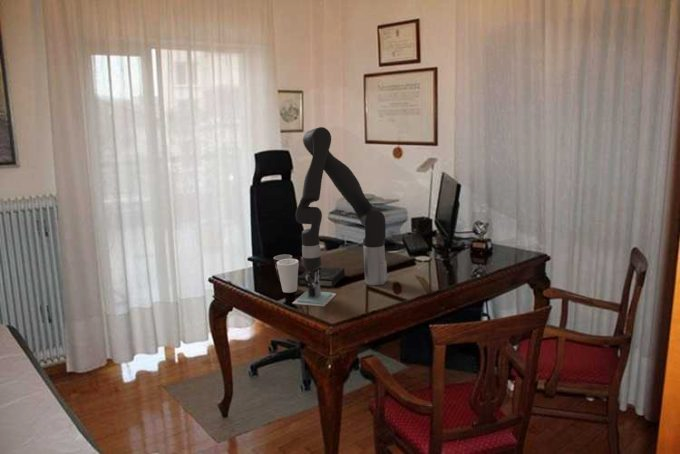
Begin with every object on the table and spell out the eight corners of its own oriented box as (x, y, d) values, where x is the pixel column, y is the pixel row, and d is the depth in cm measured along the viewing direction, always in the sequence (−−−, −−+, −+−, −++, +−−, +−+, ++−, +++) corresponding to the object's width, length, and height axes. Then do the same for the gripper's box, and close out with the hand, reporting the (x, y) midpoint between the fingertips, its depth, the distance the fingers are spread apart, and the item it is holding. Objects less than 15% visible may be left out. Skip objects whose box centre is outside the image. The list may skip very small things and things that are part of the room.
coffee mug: (290, 280, 261) (289, 259, 259) (273, 280, 263) (271, 259, 260) (297, 272, 272) (296, 252, 270) (280, 272, 274) (278, 252, 271)
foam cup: (279, 287, 253) (277, 259, 250) (300, 285, 253) (298, 257, 250) (279, 294, 244) (276, 265, 240) (300, 293, 244) (298, 264, 241)
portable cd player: (297, 286, 254) (296, 278, 253) (312, 274, 270) (311, 266, 269) (331, 288, 249) (331, 280, 248) (344, 276, 264) (344, 268, 263)
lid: (331, 294, 239) (330, 281, 238) (322, 303, 229) (321, 290, 228) (307, 292, 243) (306, 279, 241) (297, 301, 233) (296, 288, 231)
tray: (336, 294, 240) (336, 293, 240) (324, 306, 227) (324, 305, 227) (305, 292, 245) (305, 291, 245) (292, 303, 232) (292, 303, 232)
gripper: (313, 260, 224) (316, 301, 228) (326, 250, 237) (328, 289, 241) (296, 259, 226) (299, 300, 230) (309, 249, 239) (312, 288, 243)
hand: (314, 294), depth 236 cm, fingers closed on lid, 4 cm apart
